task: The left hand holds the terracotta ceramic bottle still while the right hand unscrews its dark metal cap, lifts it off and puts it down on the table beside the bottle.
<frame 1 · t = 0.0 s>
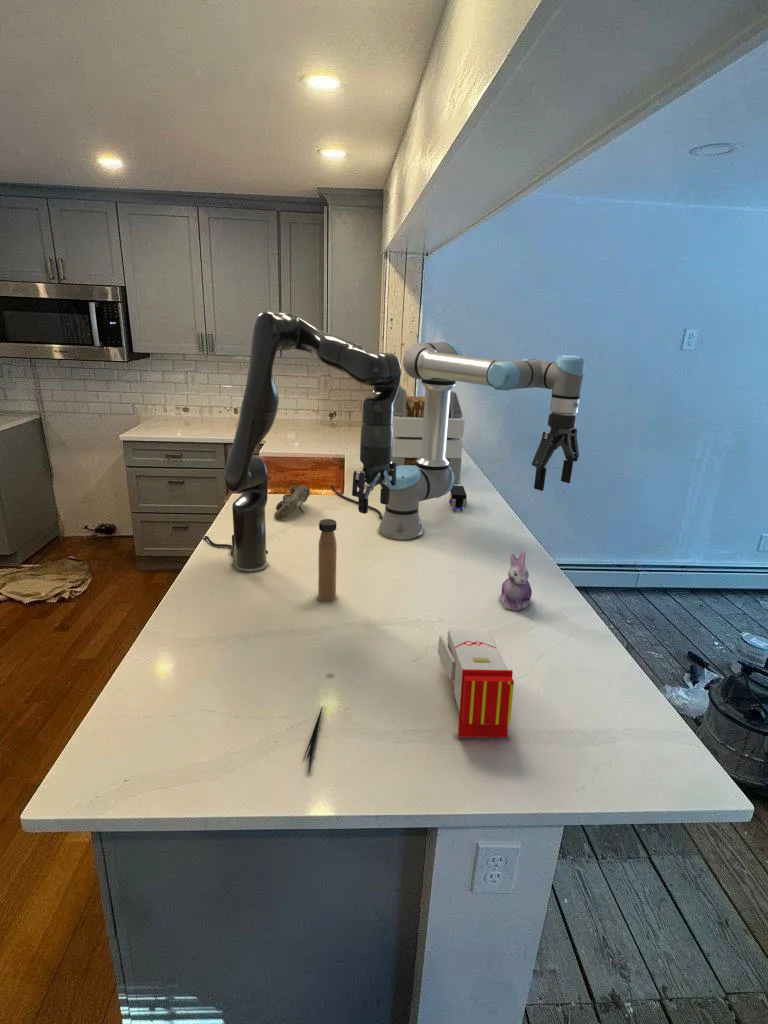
left hand: (374, 508, 137), 29 cm above the counter, tool pointing down, fingers open, 8 cm apart
right hand: (552, 485, 166), 28 cm above the counter, tool pointing down, fingers open, 13 cm apart
toy: (469, 691, 119), on the counter
figurine: (515, 603, 156), on the counter
stacked slatted crates: (419, 473, 275), on the counter
cap: (327, 523, 147), point 22 cm above the counter, screwed on, not yet turned
bottle: (327, 597, 154), on the counter
fossil: (293, 511, 216), on the counter
figurine character: (456, 507, 229), on the counter
feather: (319, 719, 109), on the counter
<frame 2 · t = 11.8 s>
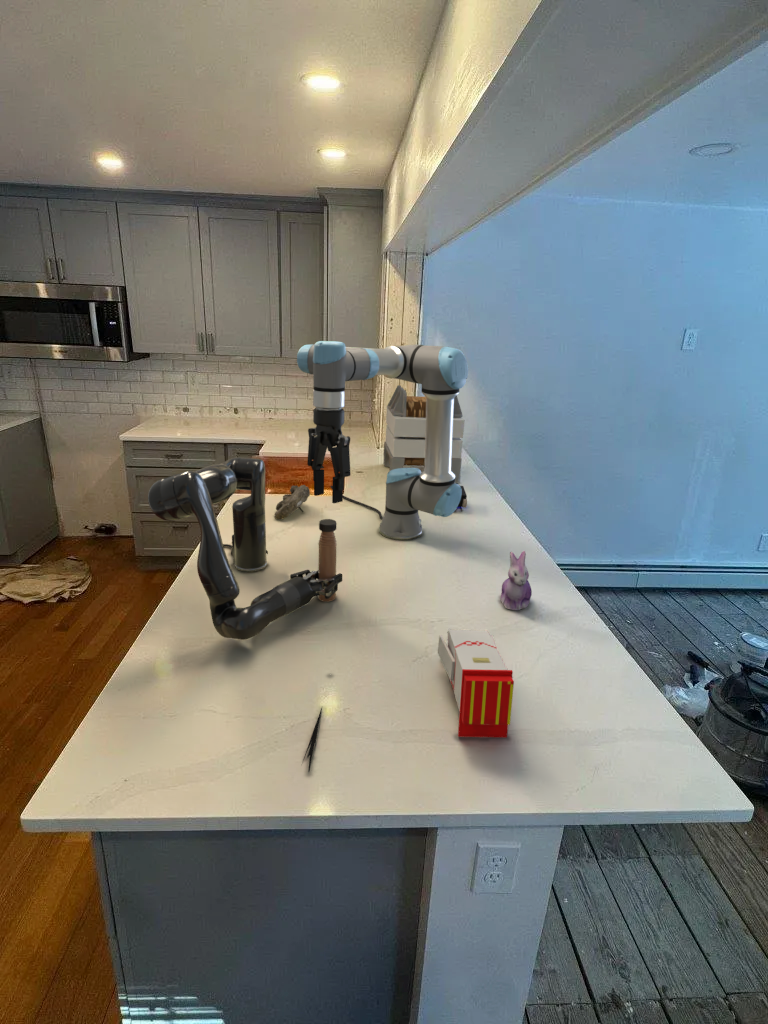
left hand: (333, 573, 154), 6 cm above the counter, tool horizontal, fingers closed on bottle, 4 cm apart
right hand: (328, 498, 145), 29 cm above the counter, tool pointing down, fingers open, 7 cm apart
bottle: (327, 597, 154), on the counter, touching left hand
everything else where it was.
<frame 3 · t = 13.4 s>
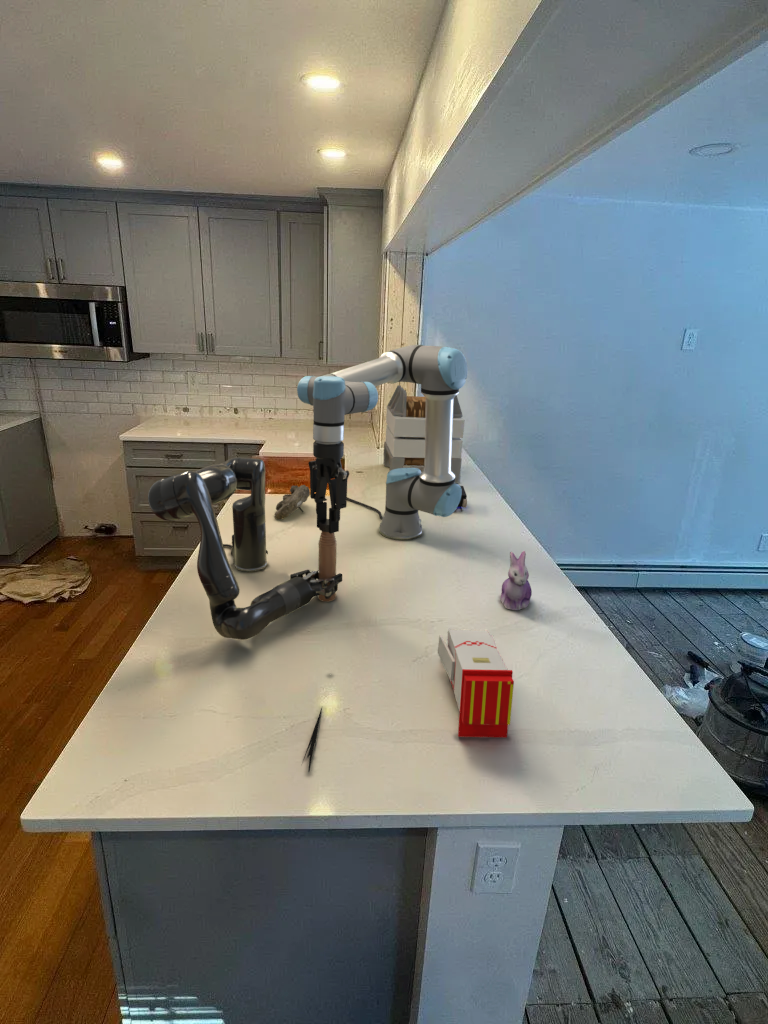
left hand: (333, 573, 154), 6 cm above the counter, tool horizontal, fingers closed on bottle, 4 cm apart
right hand: (327, 529, 148), 20 cm above the counter, tool pointing down, fingers closed on cap, 4 cm apart
cap: (327, 523, 147), point 22 cm above the counter, screwed on, not yet turned, touching right hand
bottle: (327, 597, 154), on the counter, touching left hand
everything else where it was.
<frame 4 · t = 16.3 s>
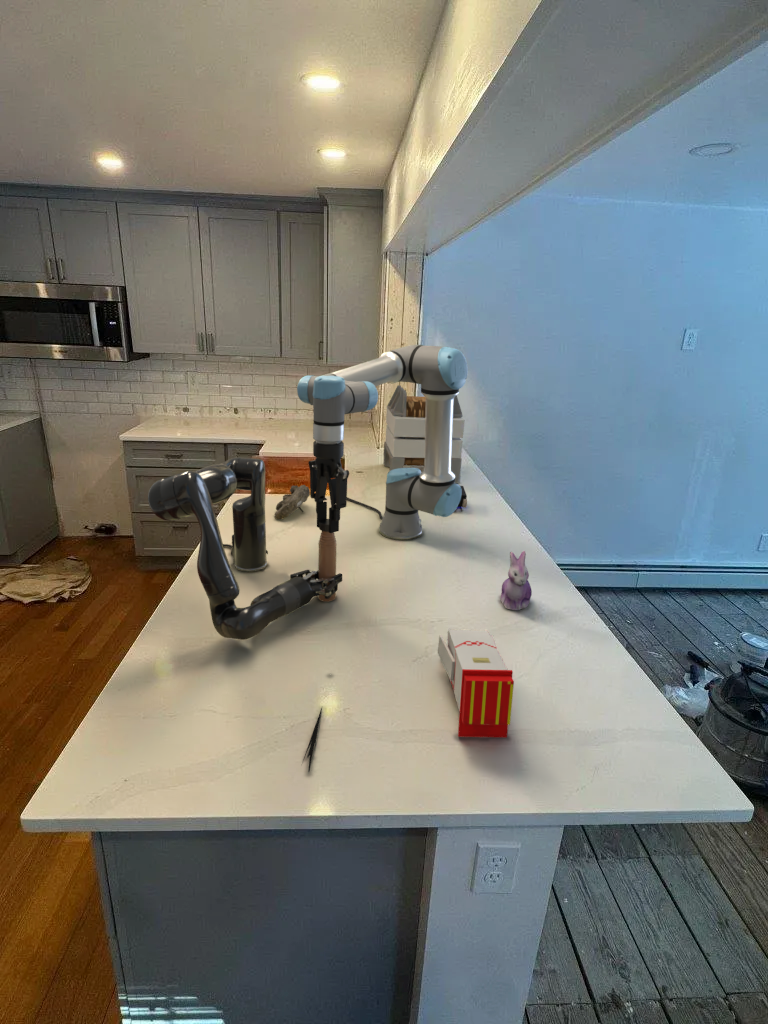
left hand: (333, 573, 154), 6 cm above the counter, tool horizontal, fingers closed on bottle, 4 cm apart
right hand: (327, 528, 147), 20 cm above the counter, tool pointing down, fingers closed on cap, 4 cm apart
cap: (327, 522, 147), point 22 cm above the counter, turned 77° so far, risen 0.1 cm, still on its thread, touching right hand
bottle: (327, 597, 154), on the counter, touching left hand
everything else where it was.
when the right hand's fingers open (2 cm above the counter, at t = 30.8 s): cap drops 2 cm, point 2 cm above the counter.
when the left hand's fingers open (6 cm above the counter, at t = 32.1 s): bottle stays where it is, on the counter.
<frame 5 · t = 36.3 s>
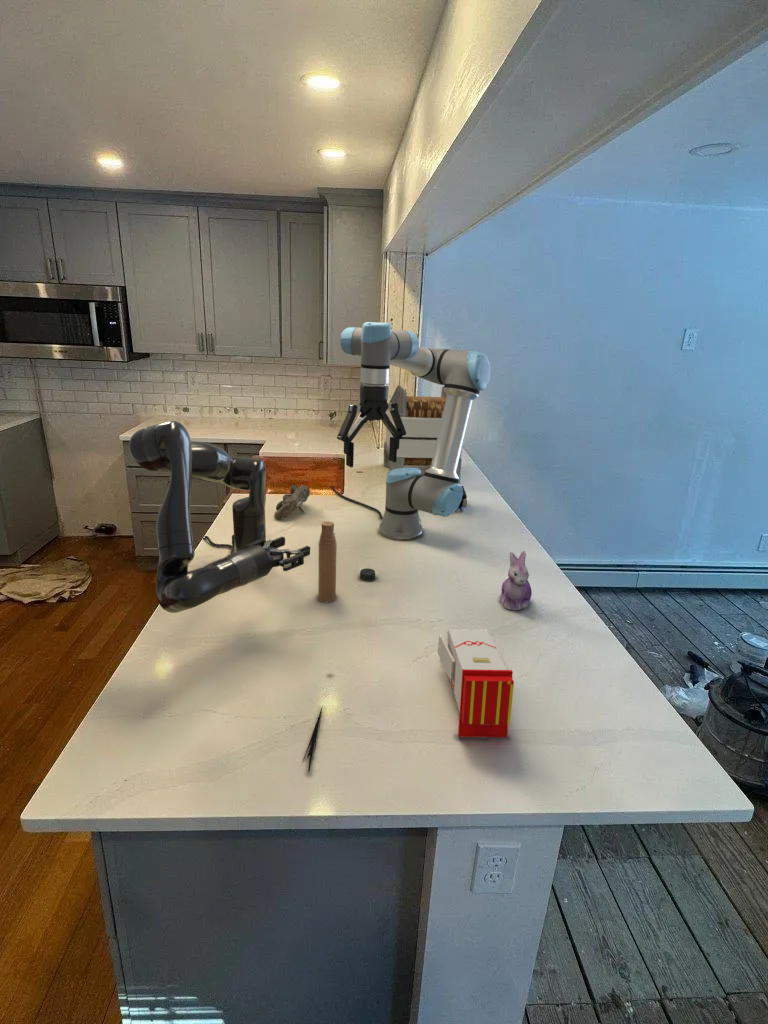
left hand: (296, 545, 139), 19 cm above the counter, tool horizontal, fingers open, 8 cm apart
right hand: (371, 463, 155), 35 cm above the counter, tool pointing down, fingers open, 13 cm apart
cap: (367, 572, 166), point 2 cm above the counter, off its thread
bottle: (327, 597, 154), on the counter
everything else where it was.
at the end: cap came off its thread; cap point 1.6 cm above the counter; the left hand is holding nothing; the right hand is holding nothing; bottle tilted 0°; bottle moved 0.0 cm from its start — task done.
